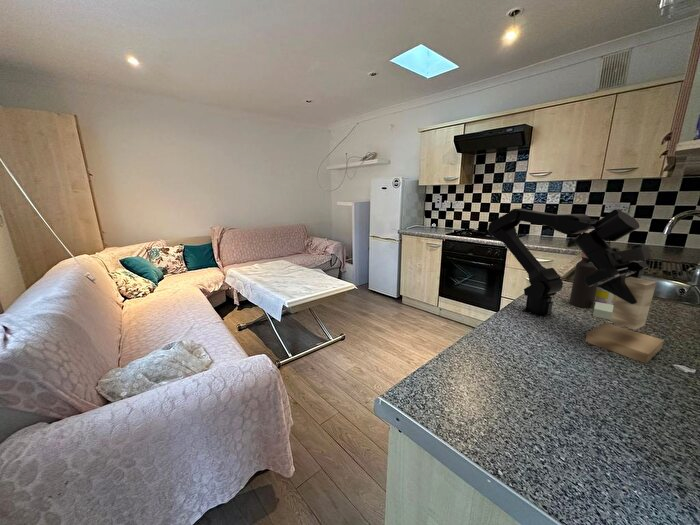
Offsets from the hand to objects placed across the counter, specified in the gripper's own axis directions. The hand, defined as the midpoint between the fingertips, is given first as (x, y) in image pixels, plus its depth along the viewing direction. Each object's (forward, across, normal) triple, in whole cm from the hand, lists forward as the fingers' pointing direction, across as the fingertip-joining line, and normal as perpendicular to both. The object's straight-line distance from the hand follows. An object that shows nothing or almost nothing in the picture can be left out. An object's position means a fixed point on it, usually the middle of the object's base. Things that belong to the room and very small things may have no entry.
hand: (640, 301), depth 70 cm
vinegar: (-6, +21, +25) cm, 33 cm away
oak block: (+9, 0, +10) cm, 14 cm away
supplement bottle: (-4, +29, +24) cm, 38 cm away
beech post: (+4, 0, +6) cm, 7 cm away
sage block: (+1, +19, +18) cm, 26 cm away
